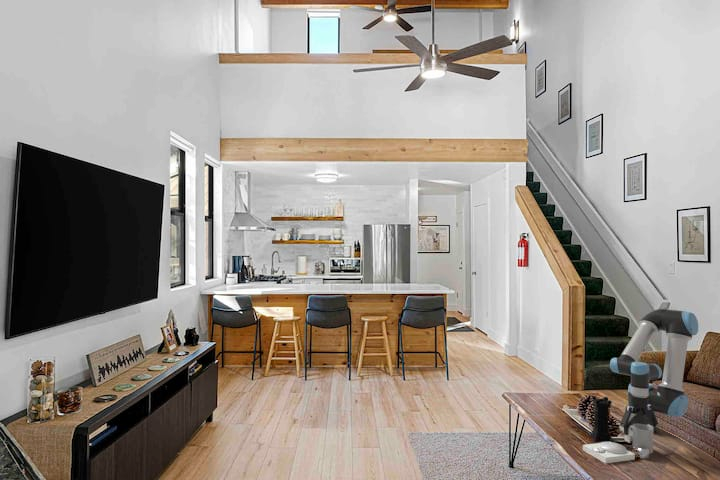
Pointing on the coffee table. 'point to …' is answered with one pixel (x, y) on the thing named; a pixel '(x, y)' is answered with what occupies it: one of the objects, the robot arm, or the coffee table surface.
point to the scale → (609, 452)
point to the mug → (642, 436)
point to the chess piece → (601, 420)
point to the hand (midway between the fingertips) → (638, 440)
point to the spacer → (643, 452)
